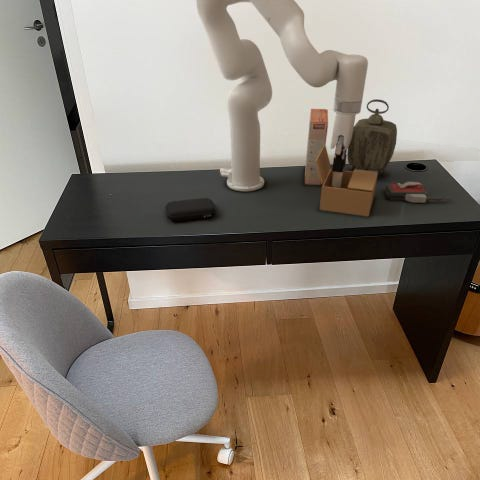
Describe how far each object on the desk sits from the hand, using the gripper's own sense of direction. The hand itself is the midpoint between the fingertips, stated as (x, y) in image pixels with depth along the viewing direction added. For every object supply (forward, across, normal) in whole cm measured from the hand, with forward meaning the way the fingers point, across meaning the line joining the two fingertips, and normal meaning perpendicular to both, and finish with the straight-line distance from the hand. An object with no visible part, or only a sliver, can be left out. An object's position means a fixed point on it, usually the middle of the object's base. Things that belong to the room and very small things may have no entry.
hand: (338, 168), depth 149 cm
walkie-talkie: (+11, -11, +24) cm, 29 cm away
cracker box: (+12, -17, -10) cm, 23 cm away
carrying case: (+12, +21, -40) cm, 47 cm away
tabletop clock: (+11, -24, +7) cm, 27 cm away
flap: (-1, 0, -5) cm, 5 cm away
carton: (+11, 0, +4) cm, 12 cm away
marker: (+9, 0, 0) cm, 9 cm away
